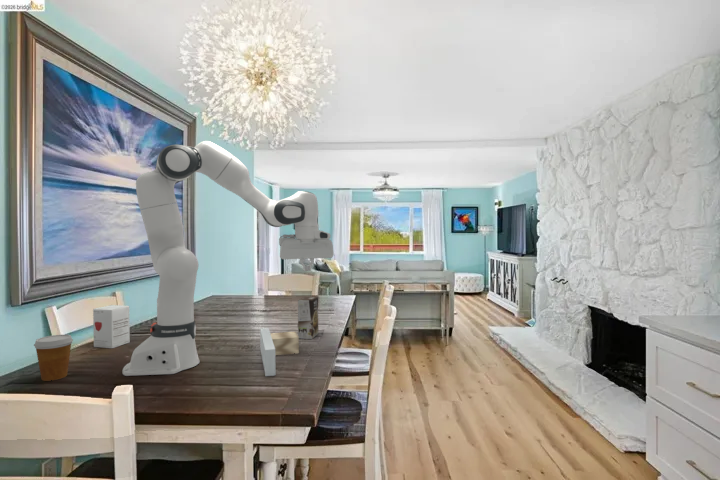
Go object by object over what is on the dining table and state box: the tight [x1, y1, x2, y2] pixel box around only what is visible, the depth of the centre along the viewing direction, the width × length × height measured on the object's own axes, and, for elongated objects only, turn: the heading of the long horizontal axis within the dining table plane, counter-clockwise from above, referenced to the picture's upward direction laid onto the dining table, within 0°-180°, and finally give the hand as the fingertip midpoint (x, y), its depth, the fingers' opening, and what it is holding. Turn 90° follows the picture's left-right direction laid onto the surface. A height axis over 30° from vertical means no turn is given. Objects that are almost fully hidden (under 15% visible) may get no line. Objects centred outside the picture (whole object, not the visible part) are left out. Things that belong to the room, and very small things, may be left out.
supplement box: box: [92, 304, 131, 349], centre depth 160 cm, size 9×9×15 cm
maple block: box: [270, 331, 300, 356], centre depth 150 cm, size 10×9×6 cm
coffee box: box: [297, 296, 319, 340], centre depth 171 cm, size 9×6×16 cm
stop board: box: [259, 327, 277, 377], centre depth 138 cm, size 3×30×8 cm, turn 17°
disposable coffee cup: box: [33, 334, 74, 382], centre depth 124 cm, size 10×10×12 cm
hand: (307, 270), depth 155 cm, fingers closed
